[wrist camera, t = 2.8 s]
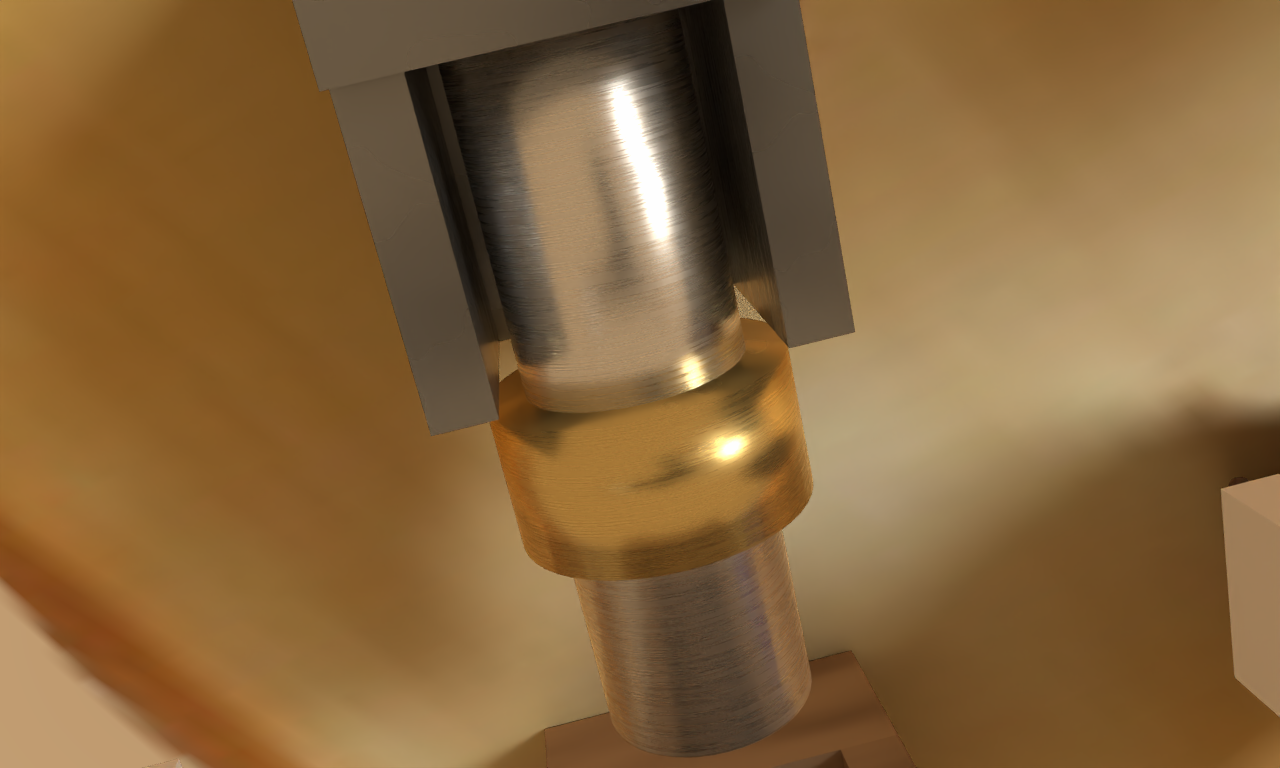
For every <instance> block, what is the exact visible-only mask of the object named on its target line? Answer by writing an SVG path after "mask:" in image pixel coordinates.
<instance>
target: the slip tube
mask: <svg viewBox="0 0 1280 768" xmlns="http://www.w3.org/2000/svg"><path fill="white" fill-rule="evenodd" d="M438 67H439V70H440V74H441V78H442V82H443V85H444V89H445V93H446V97H447V101H448V104H449V108H450V112H451V116H452V119H453V123H454V127H455V131H456V135H457V138H458V142H459V146H460V150H461V153H462V157H463V161H464V165H465V169H466V172H467V176H468V180H469V184H470V187H471V191H472V195H473V199H474V203H475V206H476V210H477V214H478V218H479V221H480V225H481V229H482V233H483V237H484V240H485V244H486V248H487V252H488V255H489V259H490V263H491V267H492V271H493V274H494V278H495V282H496V286H497V289H498V293H499V297H500V301H501V305H502V308H503V312H504V316H505V320H506V323H507V327H508V331H509V335H510V339H511V342H512V346H513V350H514V354H515V357H516V361H517V365H518V370H516V371H514V372H513V373H512V374H510V375H509V376H507V377H506V378H504V379H503V380H502V381H501V382H500V383H499V420H495V421H491V422H490V425H491V429H492V432H493V436H494V440H495V443H496V447H497V450H498V454H499V458H500V461H501V465H502V469H503V472H504V476H505V479H506V483H507V487H508V490H509V494H510V497H511V501H512V505H513V508H514V512H515V515H516V519H517V523H518V526H519V530H520V534H521V537H522V541H523V544H524V548H525V550H526V552H527V554H528V556H529V557H530V558H531V559H532V560H533V561H534V562H535V563H536V564H538V565H540V566H541V567H543V568H544V569H547V570H549V571H552V572H554V573H557V574H560V575H564V576H568V577H572V578H574V580H575V584H576V588H577V592H578V595H579V599H580V603H581V607H582V611H583V614H584V618H585V622H586V626H587V629H588V633H589V637H590V641H591V645H592V648H593V652H594V656H595V660H596V663H597V667H598V671H599V675H600V679H601V682H602V686H603V690H604V694H605V697H606V701H607V705H608V709H609V713H610V716H611V720H612V724H613V726H614V728H615V730H616V731H617V733H618V734H619V735H620V736H621V737H622V738H623V739H624V740H625V741H626V742H628V743H629V744H631V745H633V746H634V747H636V748H638V749H641V750H643V751H646V752H648V753H653V754H657V755H661V756H669V757H684V758H688V757H703V756H710V755H717V754H721V753H726V752H730V751H733V750H736V749H740V748H743V747H745V746H748V745H751V744H753V743H756V742H758V741H760V740H762V739H764V738H766V737H768V736H769V735H771V734H773V733H774V732H776V731H777V730H779V729H780V728H782V727H783V726H784V725H786V724H787V723H788V722H789V721H790V720H791V719H792V718H793V717H794V716H795V715H796V714H797V713H798V712H799V711H800V709H801V708H802V707H803V706H804V704H805V702H806V700H807V698H808V696H809V693H810V690H811V683H812V679H811V671H810V666H809V661H808V656H807V651H806V646H805V641H804V636H803V631H802V626H801V621H800V616H799V611H798V606H797V601H796V596H795V591H794V586H793V581H792V576H791V571H790V566H789V561H788V556H787V551H786V546H785V541H784V536H783V531H782V529H783V528H784V527H786V526H787V525H788V524H789V523H791V522H792V521H793V520H794V519H795V518H796V517H797V516H798V515H799V514H800V513H801V512H802V510H803V509H804V507H805V506H806V505H807V503H808V501H809V499H810V497H811V495H812V490H813V479H812V473H811V468H810V462H809V457H808V452H807V446H806V441H805V436H804V430H803V425H802V420H801V414H800V409H799V404H798V398H797V393H796V388H795V383H794V377H793V372H792V367H791V361H790V356H789V351H788V347H787V345H786V344H785V343H784V342H783V341H782V340H781V338H780V337H779V336H778V335H777V334H776V333H775V331H774V330H773V329H772V328H771V327H770V326H769V325H768V323H766V322H762V321H759V320H753V319H748V318H740V316H739V311H738V306H737V301H736V296H735V291H734V286H733V281H732V276H731V271H730V266H729V261H728V256H727V251H726V246H725V241H724V236H723V231H722V226H721V221H720V216H719V211H718V206H717V201H716V196H715V191H714V186H713V181H712V176H711V171H710V166H709V161H708V156H707V151H706V146H705V141H704V136H703V131H702V126H701V121H700V116H699V111H698V106H697V101H696V96H695V91H694V86H693V81H692V76H691V71H690V66H689V61H688V56H687V51H686V46H685V41H684V36H683V31H682V26H681V21H680V16H679V11H678V8H676V9H672V10H668V11H663V12H659V13H655V14H651V15H646V16H642V17H638V18H633V19H629V20H625V21H621V22H616V23H612V24H608V25H603V26H599V27H595V28H590V29H586V30H582V31H578V32H573V33H569V34H565V35H560V36H556V37H552V38H548V39H543V40H539V41H535V42H530V43H526V44H522V45H517V46H513V47H509V48H505V49H500V50H496V51H492V52H487V53H483V54H479V55H475V56H470V57H466V58H462V59H457V60H453V61H449V62H445V63H440V64H438Z"/></svg>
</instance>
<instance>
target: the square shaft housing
mask: <svg viewBox="0 0 1280 768" xmlns="http://www.w3.org/2000/svg"><path fill="white" fill-rule="evenodd" d="M292 1H293V4H294V8H295V11H296V14H297V18H298V21H299V25H300V28H301V31H302V35H303V38H304V41H305V45H306V48H307V51H308V55H309V58H310V62H311V65H312V68H313V72H314V75H315V78H316V82H317V85H318V88H319V92H320V91H324V90H329V91H330V94H331V98H332V101H333V105H334V108H335V111H336V115H337V118H338V121H339V125H340V128H341V132H342V135H343V138H344V142H345V145H346V149H347V152H348V155H349V159H350V162H351V166H352V169H353V172H354V176H355V179H356V183H357V186H358V189H359V193H360V196H361V200H362V203H363V206H364V210H365V213H366V216H367V220H368V223H369V227H370V230H371V233H372V237H373V240H374V244H375V247H376V250H377V254H378V257H379V261H380V264H381V267H382V271H383V274H384V278H385V281H386V284H387V288H388V291H389V295H390V298H391V301H392V305H393V308H394V312H395V315H396V318H397V322H398V325H399V328H400V332H401V335H402V339H403V342H404V345H405V349H406V352H407V356H408V359H409V362H410V366H411V369H412V373H413V376H414V379H415V383H416V386H417V390H418V393H419V396H420V400H421V403H422V407H423V410H424V413H425V417H426V420H427V423H428V427H429V430H430V434H431V436H434V435H438V434H442V433H446V432H450V431H454V430H458V429H462V428H466V427H470V426H474V425H478V424H483V423H487V422H491V421H495V420H499V341H503V340H507V339H510V335H509V331H508V327H507V323H506V320H505V316H504V312H503V308H502V305H501V301H500V297H499V293H498V289H497V286H496V282H495V278H494V274H493V271H492V267H491V263H490V259H489V255H488V252H487V248H486V244H485V240H484V237H483V233H482V229H481V225H480V221H479V218H478V214H477V210H476V206H475V203H474V199H473V195H472V191H471V187H470V184H469V180H468V176H467V172H466V169H465V165H464V161H463V157H462V153H461V150H460V146H459V142H458V138H457V135H456V131H455V127H454V123H453V119H452V116H451V112H450V108H449V104H448V101H447V97H446V93H445V89H444V85H443V82H442V78H441V74H440V70H439V67H438V64H440V63H445V62H449V61H453V60H457V59H462V58H466V57H470V56H475V55H479V54H483V53H487V52H492V51H496V50H500V49H505V48H509V47H513V46H517V45H522V44H526V43H530V42H535V41H539V40H543V39H548V38H552V37H556V36H560V35H565V34H569V33H573V32H578V31H582V30H586V29H590V28H595V27H599V26H603V25H608V24H612V23H616V22H621V21H625V20H629V19H633V18H638V17H642V16H646V15H651V14H655V13H659V12H663V11H668V10H672V9H676V8H678V11H679V16H680V21H681V26H682V31H683V36H684V41H685V46H686V51H687V56H688V61H689V66H690V71H691V76H692V81H693V86H694V91H695V96H696V101H697V106H698V111H699V116H700V121H701V126H702V131H703V136H704V141H705V146H706V151H707V156H708V161H709V166H710V171H711V176H712V181H713V186H714V191H715V196H716V201H717V206H718V211H719V216H720V221H721V226H722V231H723V236H724V241H725V246H726V251H727V256H728V261H729V266H730V271H731V276H732V281H733V284H734V285H735V286H736V288H737V289H738V290H739V291H740V292H741V293H742V294H743V296H744V297H745V298H746V299H747V300H748V301H749V303H750V304H751V305H752V306H753V307H754V308H755V309H756V311H757V312H758V313H759V314H760V315H761V316H762V318H763V319H764V320H765V321H766V322H767V323H768V325H769V326H770V327H771V328H772V329H773V330H774V331H775V333H776V334H777V335H778V336H779V337H780V338H781V340H782V341H783V342H784V343H785V344H786V345H787V347H788V348H792V347H796V346H800V345H804V344H808V343H812V342H816V341H821V340H825V339H829V338H833V337H837V336H841V335H845V334H849V333H853V332H855V328H854V323H853V317H852V311H851V305H850V299H849V293H848V287H847V281H846V275H845V269H844V263H843V257H842V251H841V245H840V240H839V234H838V228H837V222H836V216H835V210H834V204H833V198H832V192H831V186H830V180H829V174H828V168H827V163H826V157H825V151H824V145H823V139H822V133H821V127H820V121H819V115H818V109H817V103H816V97H815V91H814V85H813V80H812V74H811V68H810V62H809V56H808V50H807V44H806V38H805V32H804V26H803V20H802V14H801V8H800V3H799V0H292Z"/></svg>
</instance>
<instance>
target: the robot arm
mask: <svg viewBox="0 0 1280 768" xmlns="http://www.w3.org/2000/svg"><path fill="white" fill-rule="evenodd" d="M1221 499H1222V513H1223V527H1224V540H1225V554H1226V568H1227V581H1228V595H1229V609H1230V623H1231V636H1232V650H1233V664H1234V677H1235V678H1236V679H1237V680H1238V681H1239V682H1240V683H1241V684H1243V685H1244V686H1245V687H1246V688H1247V689H1248V690H1249V691H1251V692H1252V693H1253V694H1254V695H1255V696H1256V697H1257V698H1258V699H1260V700H1261V701H1262V702H1263V703H1264V704H1265V705H1266V706H1267V707H1269V708H1270V709H1271V710H1272V711H1273V712H1274V713H1275V714H1277V715H1278V716H1279V717H1280V474H1276V475H1272V476H1268V477H1264V478H1260V479H1256V480H1253V481H1249V482H1245V483H1241V484H1237V485H1233V486H1229V487H1226V488H1222V489H1221ZM145 768H183V767H182V765H181V762H180V760H179V759H175V760H171V761H167V762H164V763H160V764H156V765H152V766H148V767H145Z"/></svg>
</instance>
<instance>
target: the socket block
mask: <svg viewBox="0 0 1280 768" xmlns="http://www.w3.org/2000/svg"><path fill="white" fill-rule="evenodd" d="M809 666H810V671H811V679H812V683H811V690H810V693H809V696H808V698H807V700H806V702H805V704H804V706H803V707H802V708H801V709H800V711H799V712H798V713H797V714H796V715H795V716H794V717H793V718H792V719H791V720H790V721H789V722H788V723H787V724H786V725H784V726H783V727H782V728H780V729H779V730H777V731H776V732H774V733H773V734H771V735H769V736H768V737H766V738H764V739H762V740H760V741H758V742H756V743H753V744H751V745H748V746H745V747H743V748H740V749H736V750H733V751H730V752H726V753H721V754H717V755H710V756H703V757H688V758H684V757H669V756H661V755H657V754H653V753H648V752H646V751H643V750H641V749H638V748H636V747H634V746H633V745H631V744H629V743H628V742H626V741H625V740H624V739H623V738H622V737H621V736H620V735H619V734H618V733H617V731H616V730H615V728H614V726H613V724H612V720H611V716H610V713H606V714H602V715H598V716H594V717H590V718H586V719H583V720H579V721H575V722H571V723H567V724H563V725H559V726H555V727H551V728H547V729H545V741H546V757H547V768H916V767H915V765H914V763H913V761H912V759H911V758H910V756H909V754H908V752H907V750H906V749H905V747H904V745H903V743H902V741H901V739H900V738H899V736H898V734H897V732H896V730H895V729H894V727H893V725H892V723H891V721H890V720H889V718H888V716H887V714H886V712H885V710H884V709H883V707H882V705H881V703H880V701H879V700H878V698H877V696H876V694H875V692H874V691H873V689H872V687H871V685H870V683H869V682H868V680H867V678H866V676H865V674H864V672H863V671H862V669H861V667H860V665H859V663H858V662H857V660H856V658H855V656H854V654H853V653H852V651H848V652H844V653H840V654H836V655H832V656H828V657H824V658H820V659H816V660H813V661H809Z"/></svg>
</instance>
